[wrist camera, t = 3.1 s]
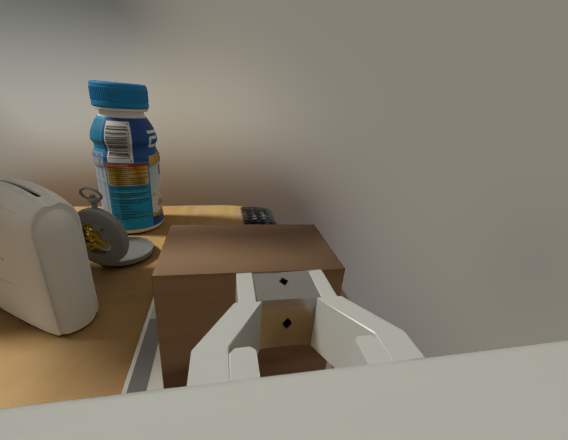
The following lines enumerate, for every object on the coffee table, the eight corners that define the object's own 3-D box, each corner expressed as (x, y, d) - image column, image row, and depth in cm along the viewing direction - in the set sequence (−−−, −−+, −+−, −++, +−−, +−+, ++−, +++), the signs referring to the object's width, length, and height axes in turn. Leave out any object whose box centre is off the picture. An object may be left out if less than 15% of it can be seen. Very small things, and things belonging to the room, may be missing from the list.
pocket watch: (152, 240, 41) (145, 170, 37) (155, 272, 34) (147, 190, 30) (83, 248, 37) (68, 171, 33) (70, 285, 30) (49, 194, 26)
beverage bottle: (91, 226, 43) (62, 77, 35) (139, 209, 50) (124, 83, 42) (131, 241, 40) (109, 81, 32) (176, 221, 47) (167, 87, 39)
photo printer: (-15, 305, 27) (-66, 174, 22) (38, 281, 30) (4, 165, 26) (59, 346, 23) (18, 202, 19) (108, 314, 27) (84, 186, 22)
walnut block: (320, 392, 20) (345, 268, 16) (166, 413, 18) (151, 275, 14) (299, 328, 25) (313, 224, 21) (179, 338, 23) (170, 224, 19)
